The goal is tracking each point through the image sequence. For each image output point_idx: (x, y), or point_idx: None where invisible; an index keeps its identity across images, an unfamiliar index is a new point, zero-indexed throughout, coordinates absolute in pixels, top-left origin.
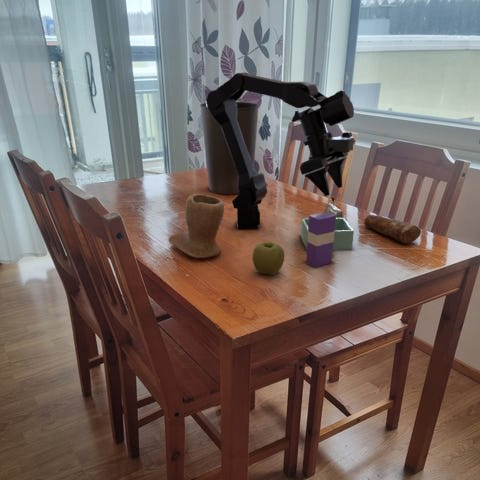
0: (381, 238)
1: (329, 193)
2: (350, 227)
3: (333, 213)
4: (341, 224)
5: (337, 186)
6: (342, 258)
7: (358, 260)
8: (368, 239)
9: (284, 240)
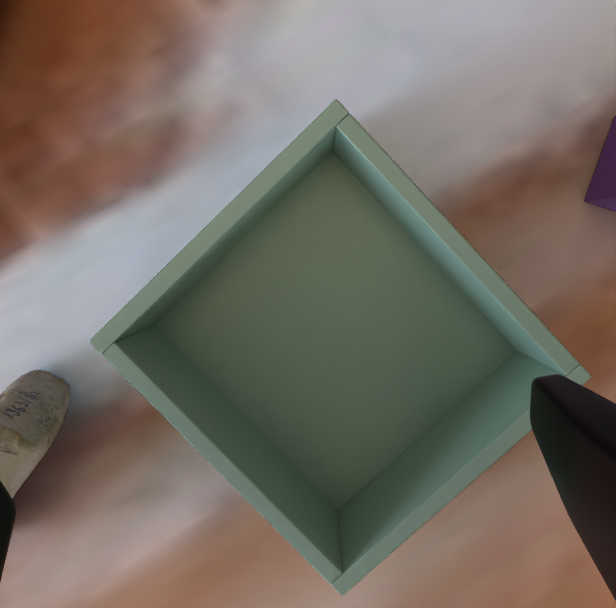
0: (8, 83)
1: (549, 381)
2: (279, 165)
3: (15, 487)
4: (134, 335)
5: (9, 537)
6: (501, 102)
7: (467, 4)
8: (86, 143)
9: (466, 554)
